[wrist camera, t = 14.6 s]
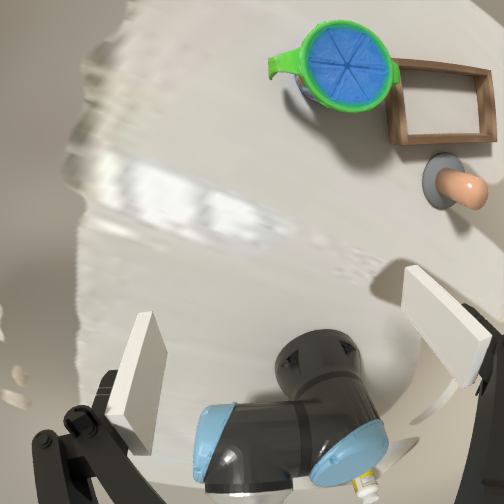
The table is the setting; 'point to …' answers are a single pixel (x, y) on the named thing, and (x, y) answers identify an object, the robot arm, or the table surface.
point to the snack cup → (340, 67)
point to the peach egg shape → (462, 188)
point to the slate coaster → (430, 175)
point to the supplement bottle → (366, 487)
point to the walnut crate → (401, 138)
